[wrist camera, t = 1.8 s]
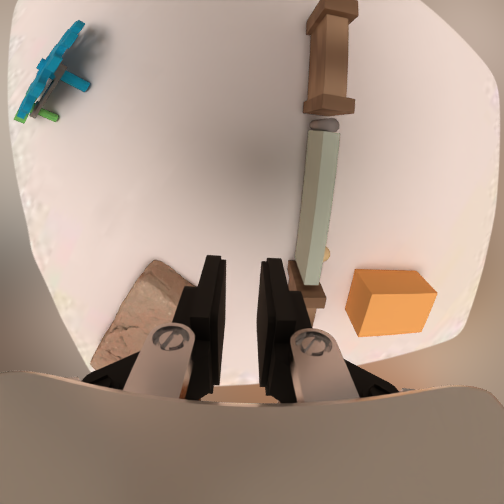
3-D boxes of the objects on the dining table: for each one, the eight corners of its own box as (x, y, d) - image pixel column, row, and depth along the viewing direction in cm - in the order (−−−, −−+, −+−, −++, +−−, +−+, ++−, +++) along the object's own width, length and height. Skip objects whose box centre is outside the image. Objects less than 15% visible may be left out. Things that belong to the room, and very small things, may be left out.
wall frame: (306, 21, 18) (324, -7, 12) (333, 26, 18) (358, 0, 12) (279, 319, 31) (286, 362, 25) (301, 320, 31) (311, 362, 25)
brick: (152, 254, 27) (137, 277, 23) (220, 299, 30) (216, 327, 25) (100, 343, 33) (87, 367, 29) (153, 374, 35) (145, 400, 31)
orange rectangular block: (354, 268, 28) (372, 294, 24) (415, 270, 29) (437, 293, 24) (344, 308, 30) (358, 337, 26) (403, 306, 31) (421, 332, 26)
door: (309, 119, 22) (324, 116, 17) (336, 122, 22) (357, 122, 17) (294, 257, 27) (304, 284, 23) (319, 258, 27) (332, 285, 23)
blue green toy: (80, 7, 15) (63, 32, 11) (120, 33, 20) (122, 68, 16) (21, 90, 19) (-2, 145, 15) (60, 108, 24) (50, 164, 20)
